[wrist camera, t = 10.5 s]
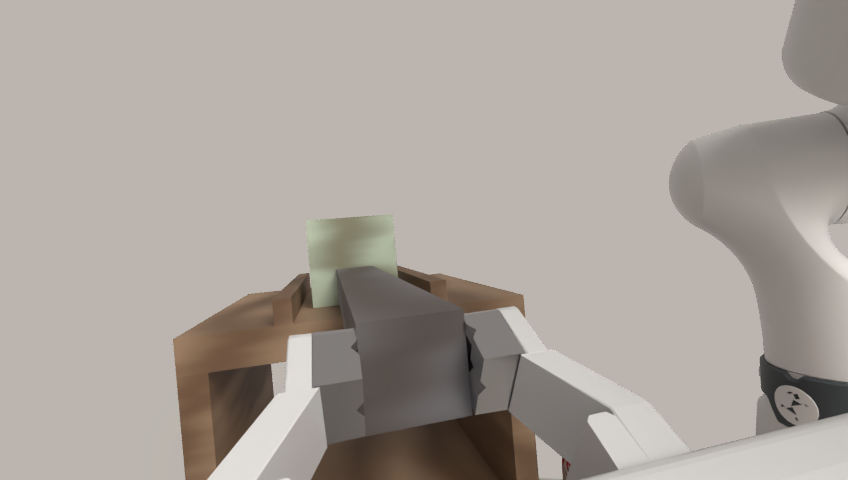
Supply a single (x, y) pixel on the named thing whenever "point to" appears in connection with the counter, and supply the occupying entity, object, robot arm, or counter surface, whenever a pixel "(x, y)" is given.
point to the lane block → (390, 325)
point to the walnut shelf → (352, 459)
